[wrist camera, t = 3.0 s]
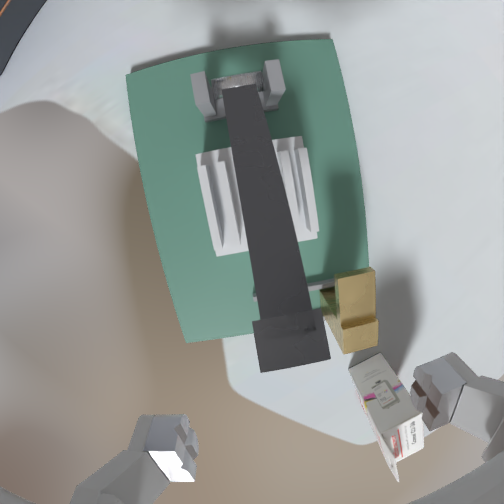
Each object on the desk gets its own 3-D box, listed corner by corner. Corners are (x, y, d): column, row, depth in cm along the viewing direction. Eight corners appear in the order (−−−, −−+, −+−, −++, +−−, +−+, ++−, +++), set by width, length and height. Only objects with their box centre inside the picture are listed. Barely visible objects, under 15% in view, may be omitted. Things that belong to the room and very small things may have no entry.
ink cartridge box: (392, 390, 35) (435, 465, 21) (361, 405, 36) (395, 486, 22) (381, 349, 33) (436, 432, 19) (346, 367, 33) (388, 458, 19)
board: (329, 43, 23) (354, 11, 16) (366, 304, 31) (395, 339, 24) (129, 78, 24) (97, 54, 16) (187, 337, 31) (175, 380, 24)
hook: (344, 245, 28) (378, 273, 20) (348, 304, 29) (377, 345, 22) (314, 251, 28) (340, 282, 20) (321, 310, 30) (343, 354, 22)
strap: (261, 82, 20) (259, 66, 18) (330, 357, 14) (336, 358, 12) (214, 90, 20) (210, 75, 18) (257, 371, 14) (255, 374, 12)
